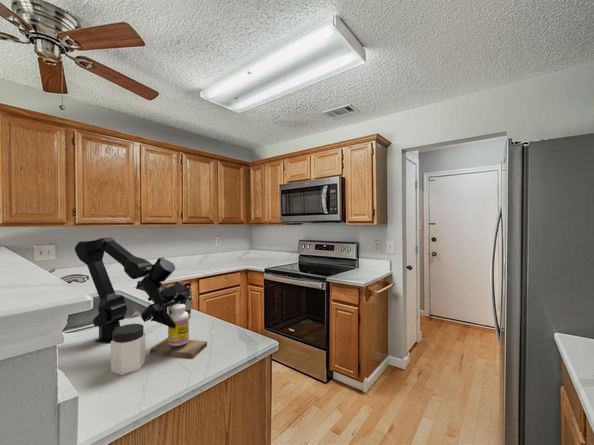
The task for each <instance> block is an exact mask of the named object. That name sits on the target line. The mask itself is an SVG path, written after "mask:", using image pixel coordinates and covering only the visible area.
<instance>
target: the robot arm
mask: <svg viewBox="0 0 594 445" xmlns="http://www.w3.org/2000/svg"><path fill="white" fill-rule="evenodd" d="M74 252H75V254H76V256H77V258H78V260H80V261H81V262H82V263H83V264H85V265H86V266H87V268H88V271H89V274H90V276H91V277H90V278H92V282H93V284H94V287H95V289H96V292H97V295H98V297H99V303H98V314H97V315H96V316H95V318H93V320H92V322H93V326H94V327H98V338H96V339H95V341H94V342H97V343H108V344H109V343H110V344H111V341H112V340H113V338H112V334H113V330H114V329H116V328H118V327H120V326H121V321H122V320H124V319H125V316H126V313H127V311H128V307H127V306H128V303H127V302H126V300H125V297H124V296H123V295H118V294H116V292H115V290H114V287H113V284H112V282H111V279H110V276H109V273H108V271H107V268H106V266H105V264H104V261H103V259H104V255H105V253H106V254H108V255H109V256H110V257H111V258H112V259H113V260H114V261H116V262H117V263H119V264H120V265H122V267H123V270H124V273H125V274H126V275H127V276H128V277H129V278H130V279H132V280H137V279H140V278H142V279H141V280H138V281H136V283H137V284H136V288H135V289H136V290H140V289H143V291H145V293H146V294H147V296H148V298H147V300H148V302H151V301H152V302H153V303H151V304H149V305H148V306H147V307H146V308H145V309H144V310H143V312H141V313H140V316H141V319H142V321H143V322H144V323H145V322H148V321H151V322H156V323H159V324H161V325H164V326H167V328H168V327H171V328H173V329H174V328H175V327H176V325H175V323H174V322H173V320H172V319H171V317H170V316H169V313H168V307H170V306H173V305H177V304H184V305H186V301H187V299H188V298H189V297H190V294H191V293H189V292H188V291H185V290H184V289H185V287H186V286H185V285H186V284H185V283H184V282H183V281H182V280H178V281H176V282H174V284H173V285H171V286H169V285H164V284H163V282H165V281H166V280H167V279H168V278H169V277H170V276H171V275H172V274H173V272H174V271H176V265H175V263H174V262H171V261H170V260H168V259H166V258H165V257H158V259H156V262H155V263H153V264H152V263H151V262H150V261H149V260H146V259H144V258H141V257H138V256H135V255H133V254H132V253H131V252H130V251H128V250H127V249H126V248H125V247H123V246H122V245H121V244H119V243H118V242H117V241H116V240H115V239H114V238H112V237H101V238H98V239H94V240H83V241H82V240H81V241H78V242H77V244H76V245H75V246H74ZM178 293H180V294H178ZM176 294H178V295H177V296H176ZM175 296H176V297H175ZM174 297H175V298H174ZM173 298H174V299H173ZM185 311H186V312H187V310H186V309H185Z"/></svg>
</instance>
